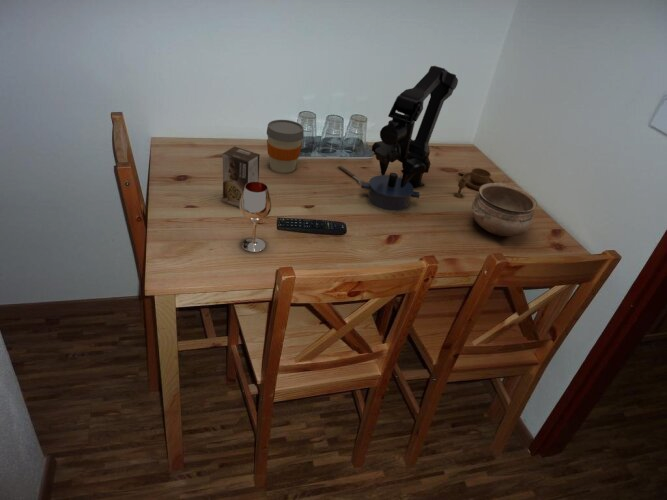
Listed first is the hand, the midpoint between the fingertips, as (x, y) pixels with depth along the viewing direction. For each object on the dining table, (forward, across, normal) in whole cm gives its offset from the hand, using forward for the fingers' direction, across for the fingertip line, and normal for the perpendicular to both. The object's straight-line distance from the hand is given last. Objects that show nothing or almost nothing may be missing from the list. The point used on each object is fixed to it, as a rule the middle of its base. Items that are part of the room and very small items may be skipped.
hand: (392, 181), depth 164 cm
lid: (+2, 0, 0) cm, 2 cm away
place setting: (+8, +4, +37) cm, 38 cm away
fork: (+8, -18, 0) cm, 19 cm away
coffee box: (+8, -20, -44) cm, 49 cm away
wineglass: (+8, +2, -52) cm, 53 cm away
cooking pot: (+8, +29, +20) cm, 37 cm away
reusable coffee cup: (+8, -35, -19) cm, 41 cm away
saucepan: (+8, 0, 0) cm, 8 cm away
